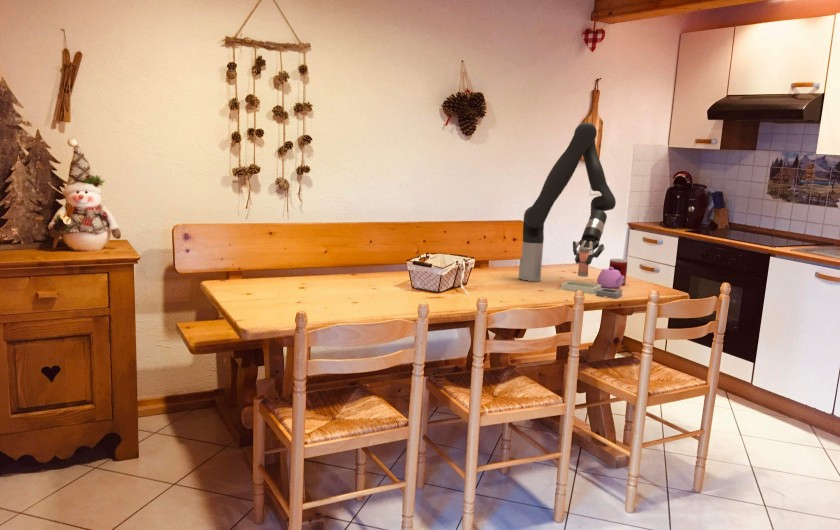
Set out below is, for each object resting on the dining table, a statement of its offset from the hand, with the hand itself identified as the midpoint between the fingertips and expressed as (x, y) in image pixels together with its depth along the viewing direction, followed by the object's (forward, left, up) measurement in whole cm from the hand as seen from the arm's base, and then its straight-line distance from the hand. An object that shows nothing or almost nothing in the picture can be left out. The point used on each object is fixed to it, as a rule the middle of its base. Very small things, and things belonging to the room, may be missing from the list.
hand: (582, 262), depth 295 cm
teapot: (+8, +18, -13) cm, 23 cm away
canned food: (+7, +31, -13) cm, 34 cm away
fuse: (0, +2, -6) cm, 6 cm away
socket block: (+13, -2, -12) cm, 18 cm away
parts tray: (0, +2, -12) cm, 13 cm away
